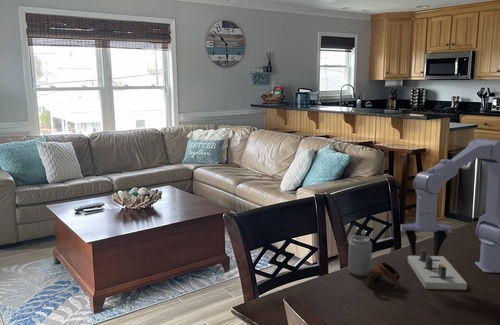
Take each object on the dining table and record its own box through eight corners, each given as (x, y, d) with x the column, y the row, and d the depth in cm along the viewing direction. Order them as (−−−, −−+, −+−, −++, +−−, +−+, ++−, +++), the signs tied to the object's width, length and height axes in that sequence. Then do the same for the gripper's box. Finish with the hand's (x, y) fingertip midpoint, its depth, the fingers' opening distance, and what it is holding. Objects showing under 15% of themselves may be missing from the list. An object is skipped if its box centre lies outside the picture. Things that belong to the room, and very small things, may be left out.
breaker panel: (443, 261, 154) (443, 246, 154) (466, 289, 133) (467, 272, 132) (407, 261, 156) (408, 245, 155) (425, 288, 134) (425, 271, 133)
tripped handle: (442, 274, 138) (443, 263, 138) (445, 277, 136) (446, 267, 135) (438, 274, 138) (438, 263, 138) (440, 277, 136) (441, 267, 135)
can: (369, 268, 150) (370, 234, 148) (373, 277, 143) (374, 241, 141) (346, 267, 151) (347, 234, 149) (349, 277, 144) (350, 241, 142)
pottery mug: (368, 278, 144) (382, 258, 142) (392, 298, 138) (407, 277, 136) (353, 281, 134) (368, 260, 132) (378, 303, 129) (394, 281, 127)
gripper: (404, 214, 131) (403, 258, 133) (455, 215, 130) (453, 259, 132) (399, 208, 138) (398, 250, 140) (447, 209, 137) (445, 251, 139)
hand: (424, 254), depth 137 cm, fingers open, 6 cm apart
